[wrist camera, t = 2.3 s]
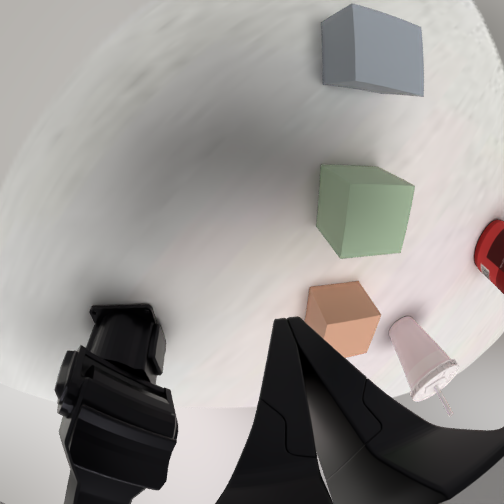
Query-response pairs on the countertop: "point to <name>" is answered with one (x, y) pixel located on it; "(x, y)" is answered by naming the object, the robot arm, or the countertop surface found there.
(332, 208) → the green block
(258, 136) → the countertop surface
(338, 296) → the terracotta block
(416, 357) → the smoothie
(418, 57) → the slate block
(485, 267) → the canned food
